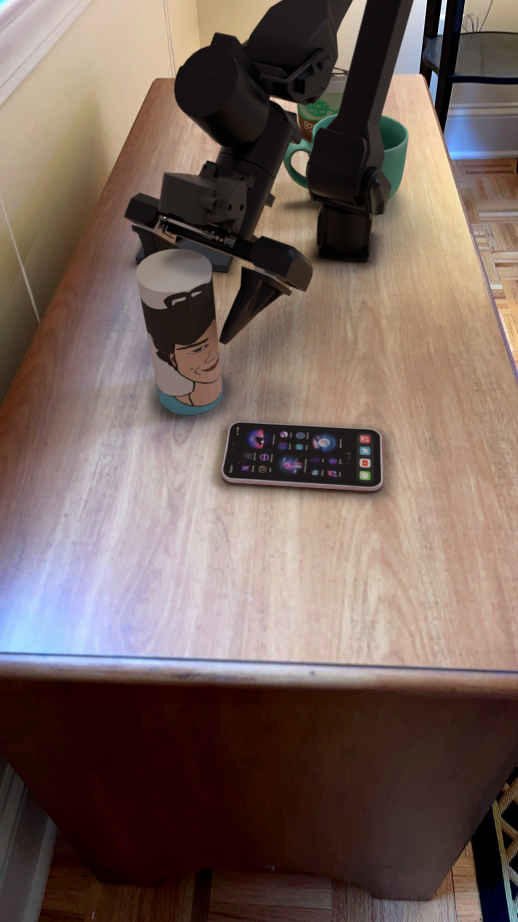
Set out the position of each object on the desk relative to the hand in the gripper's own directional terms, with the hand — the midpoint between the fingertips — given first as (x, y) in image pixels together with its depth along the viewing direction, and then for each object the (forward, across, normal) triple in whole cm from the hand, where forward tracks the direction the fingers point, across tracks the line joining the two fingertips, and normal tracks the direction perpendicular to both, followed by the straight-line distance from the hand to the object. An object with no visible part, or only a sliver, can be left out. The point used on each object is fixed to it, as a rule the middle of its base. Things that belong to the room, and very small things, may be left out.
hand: (184, 326), depth 66 cm
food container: (-35, -19, +47) cm, 62 cm away
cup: (+6, 0, +6) cm, 9 cm away
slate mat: (-10, -17, +21) cm, 29 cm away
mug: (-24, -7, +36) cm, 44 cm away
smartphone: (+7, +15, +5) cm, 17 cm away
